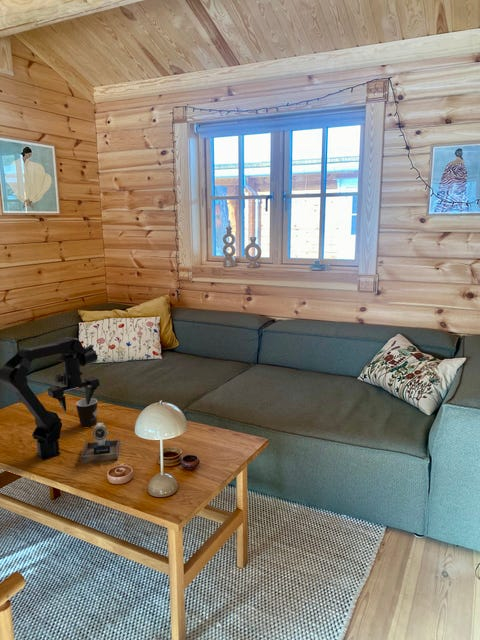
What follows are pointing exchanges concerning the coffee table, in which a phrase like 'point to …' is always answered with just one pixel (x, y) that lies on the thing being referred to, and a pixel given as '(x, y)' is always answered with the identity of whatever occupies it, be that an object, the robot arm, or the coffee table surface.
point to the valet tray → (89, 455)
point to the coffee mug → (87, 412)
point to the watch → (101, 440)
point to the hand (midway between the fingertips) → (76, 407)
